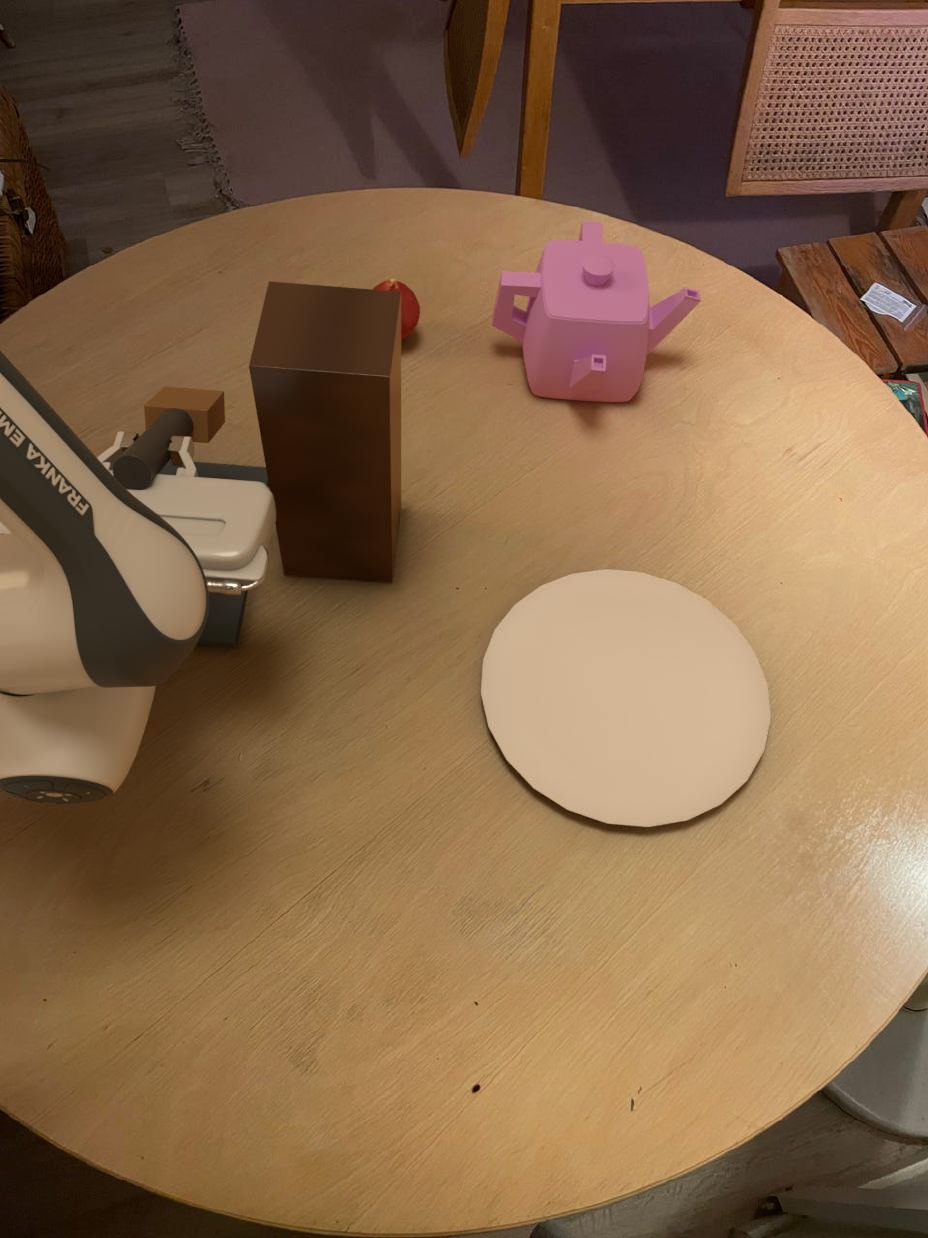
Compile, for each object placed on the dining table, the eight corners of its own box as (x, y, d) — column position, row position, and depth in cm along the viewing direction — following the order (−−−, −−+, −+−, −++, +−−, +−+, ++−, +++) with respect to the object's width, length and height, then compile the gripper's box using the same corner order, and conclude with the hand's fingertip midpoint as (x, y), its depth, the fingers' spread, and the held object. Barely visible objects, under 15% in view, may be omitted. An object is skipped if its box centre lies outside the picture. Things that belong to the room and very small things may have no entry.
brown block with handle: (168, 494, 76) (166, 457, 74) (97, 488, 76) (93, 452, 74) (225, 422, 92) (224, 390, 90) (166, 417, 91) (164, 386, 90)
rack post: (283, 575, 95) (248, 365, 73) (297, 498, 100) (268, 280, 78) (392, 583, 95) (389, 376, 73) (401, 506, 100) (401, 291, 78)
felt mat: (98, 637, 91) (96, 632, 90) (148, 463, 101) (147, 457, 101) (236, 647, 91) (234, 643, 90) (271, 472, 102) (270, 467, 101)
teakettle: (576, 282, 119) (593, 187, 108) (690, 363, 113) (719, 269, 102) (469, 351, 112) (476, 256, 101) (584, 440, 106) (604, 349, 95)
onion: (354, 335, 112) (351, 274, 106) (395, 312, 115) (395, 252, 108) (388, 364, 110) (388, 305, 103) (430, 341, 112) (431, 281, 106)
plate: (595, 892, 81) (599, 885, 79) (424, 656, 91) (424, 646, 90) (826, 737, 89) (833, 728, 88) (644, 537, 100) (648, 526, 98)
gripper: (256, 571, 71) (286, 421, 78) (-45, 548, 70) (14, 400, 78) (266, 620, 76) (294, 475, 83) (-14, 599, 76) (39, 456, 83)
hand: (156, 439), depth 81 cm, fingers closed on brown block with handle, 3 cm apart
